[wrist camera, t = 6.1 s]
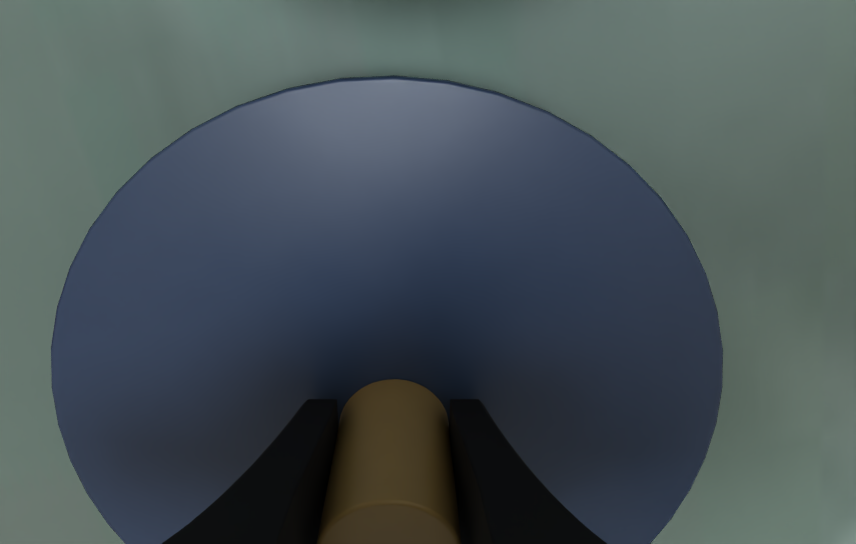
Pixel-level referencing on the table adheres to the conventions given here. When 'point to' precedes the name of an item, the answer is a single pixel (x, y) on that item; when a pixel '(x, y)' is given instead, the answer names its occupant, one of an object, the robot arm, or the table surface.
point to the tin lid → (387, 314)
